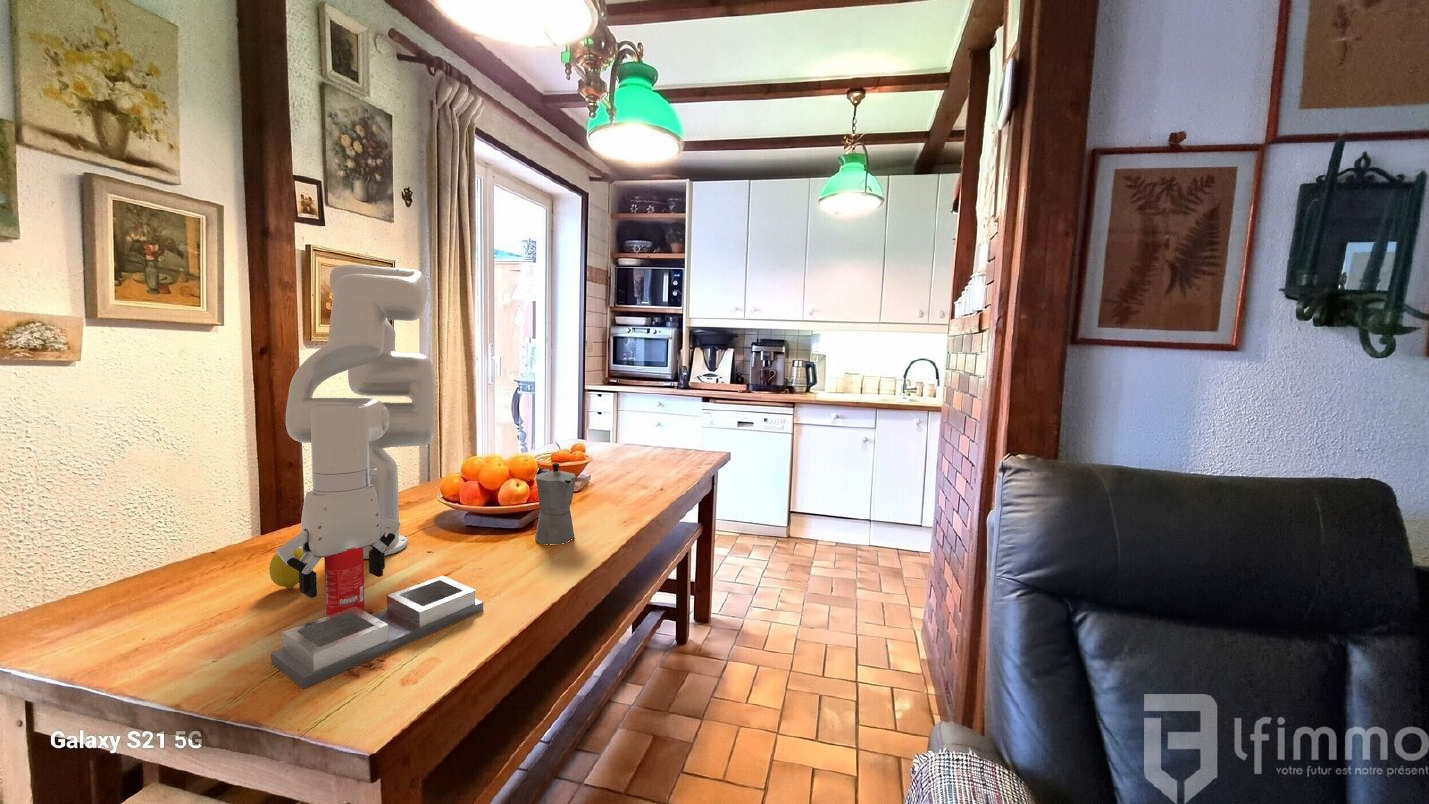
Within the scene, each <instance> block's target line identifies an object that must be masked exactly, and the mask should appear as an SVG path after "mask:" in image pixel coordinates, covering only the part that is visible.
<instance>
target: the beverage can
mask: <svg viewBox="0 0 1429 804" xmlns="http://www.w3.org/2000/svg"><path fill="white" fill-rule="evenodd" d="M346 550H347V551H344V552H342V553H339V554H336V555H332V556H328V557H324V558H323V560H324V561H323V562H324V588H325V589H324V590H325V591H324V592H325V594H324V595H325V614H326V617H327V616H329V615H332V614H335V613H338V612H341V611H344V610H346V609H349V608H352V607H355V606H356V607H358V608H360V609H362V610H363V611H364V608H365V607H366V606H365V572H364V571H365V570H364V569H365V568H364V565H365V564H364V559H363V548H356V549H355V547H352V548H348V549H346Z"/></svg>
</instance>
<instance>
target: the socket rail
mask: <svg viewBox="0 0 1429 804" xmlns="http://www.w3.org/2000/svg"><path fill="white" fill-rule="evenodd" d="M483 611H484V601H482V600H480V599H477V598H476V589H473V588H471V587H469V586H467V585H465V584H462V583H459V582H458V581H455V580H453V579H451V578H449V577H447V576H444V575H440V576H439V577H438V576H437V577H436V578H432V579H429V580H426V581H424V582H420V583H418V584H415V585H412V586H410V587H407V588H404V589H401V590H398V591H395V592H393V593H389V594H387V595H386V609H384V610H381V611H379V612H376V613H373V614H370V613H369V612H367V611H366V610H364V609H363V610H362V609H360V608H358V607H356V606H355V607H352V608H349V609H346V610H344V611H341V612H338V613H335V614H332V615H329V616H327V615H326V616H324V617H321V618H318V619H316V620H312V621H310V622H307V623H304V624H301V625H299V626H296V627H293V628H290V629H287V630H285V631H282V648H280V649H278V650H273V651H272V652H270V660H271V661H270V663H271V664H272V665H273V666H274V667H276V668H277V669H279V670H280V671H281V672H282V673H284V674H285V675H286V676H287V677H288V678H289V679H291V680H292V681H293V682H295V683H296V684H297V685H298V686H300V687H301V688H302V689H303V690H304V689H307V688H309V687H311V686H314V685H316V684H318V683H321V682H323V681H325V680H327V679H330V678H332V677H334V676H337V675H339V674H341V673H344V672H346V671H348V670H350V669H352V668H355V667H357V666H359V665H362V664H364V663H367V662H368V661H370V660H371V661H372V659H375V658H377V657H380V656H382V655H385V654H387V653H389V652H391V651H393V650H396V649H398V648H401V647H403V646H406V645H408V644H410V643H412V642H414V641H417V640H419V639H421V638H423V637H425V636H428V635H430V634H432V633H435V632H437V631H440V630H441V629H444V628H446V627H448V626H451V625H453V624H456V623H457V622H459V621H461V620H462V621H463V620H465V619H467V618H469V617H472V616H474V615H476V614H478V613H480V612H483Z"/></svg>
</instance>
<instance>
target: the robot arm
mask: <svg viewBox="0 0 1429 804" xmlns="http://www.w3.org/2000/svg"><path fill="white" fill-rule="evenodd" d="M329 285H330V290H331V293H332V301H331V308H330V309H331V310H330V320H329V328H328V339H327V343H326V344H325V345H323V346H322V347H321V348H319V349H317V350H316V351H315V352H314V353H312V354H311V355H310V356H309V357H307V358H306V359H305V360H304V362H303V363H302V364H301V365H300V366H299V367H297V370H296V371H295V372H294V375H293V377H292V379H291V381H290V384H289V389H288V394H287V395H288V396H287V401H286V402H287V403H286V409H285V428H286V432H287V434H288V436H289V437H290V438H292V440H294V441H296V442H298V443H303V444H311V445H310V446H311V471H312V473H311V475H312V483H311V484H312V490H311V491H310V490H309V491H307V492H306V493H305V497H304V501H303V506H302V512H301V521H300V533H298V534H297V535H296V536H294V537H292V538H291V539H289V540H288V541H286V542H285V543H284V544H282V545H281V546H279V547H277V548H276V549H275V550H276V553H277V554H278V555H279V556H280V557H281V559H282V560H283V561H284V563H285V564H287V565H289V566H291V567H292V568H294V569H296V570H298V571H299V583H298V585H299V592H300V593H301V594H303V595H305V596H306V597H308V598H309V599H314V598H316V597H317V596H318V587H317V586H318V583H317V582H318V581H317V580H318V578H317V572H316V571H314V569H315V567H316V566H317V565H318V563H319V562H320V561H321V559H322V558H323V559H324V557H328V556H332V555H336V554H339V553H342V552H344V551H347V550H346V549H348V548H352V547H355V549H356V548H363V560H368V572H369V574H370V575H373V576H375V577H377V578H380V577H383V576H384V569H385V565H386V564H385V562H386V559H385V556H390V555H393V554H396V553H398V552H400V551H402V550H404V549H405V548H406V547H407V546H408V538H407V537H406V536H404V535H401V534H400V526H401V522H400V516H399V515H400V510H399V509H400V505H399V503H400V501H399V499H400V498H399V468H398V465H397V462H396V461H395V459H394V458H393V457H392V456H391V455H390V454H389V453H388V452H387V451H386V450H385V448H388V449H389V448H401V447H402V448H403V447H422V446H425V445H428V444H430V443H431V442H432V440H433V439H434V437H435V428H436V427H435V425H436V424H435V423H436V421H435V420H436V416H435V415H436V414H435V411H436V410H435V405H436V404H435V400H436V399H435V373H434V366H433V363H432V361H431V359H430V358H429V357H428V356H426V355H424V354H421V353H415V352H397V351H396V331H395V328H394V327H393V325H392V324H391V322H390V321H406V322H407V321H409V322H413V321H417V320H419V319H420V317H421V316H422V314H423V312H424V308H425V305H426V302H427V299H428V284H427V280H426V277H425V276H424V274H423V273H422V272H421V271H419V270H417V269H416V270H415V269H410V268H400V267H399V268H398V267H391V266H390V267H387V266H378V265H369V264H367V265H366V264H342V265H338V266H335V267H334V268H332V270H331V271H330V273H329ZM346 371H347V379H348V381H347V382H348V386H349V389H350V391H351V392H352V393H354V394H356V395H358V396H365V397H350V398H349V397H348V398H347V397H313V396H314V392H315V391H316V389H317V388H318V387H319V386H320V385H321V384H322V383H323V382H324V381H326V380H328V379H330V378H331V377H333V376H336V375H338V374H340V373H343V372H346ZM371 397H387V398H388V397H398V398H399V397H405V398H409V399H410V400H411V402H391V401H390V402H387V401H386V402H383V401H380V400H379V399H375V398H371ZM297 548H300V549H301V550H302V551H303V552H305V553H304V555H303V556H302V557H301V558H300V560H298V559H296V558H295V556H294V555H293V551H294V550H295V549H297Z"/></svg>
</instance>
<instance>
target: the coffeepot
mask: <svg viewBox="0 0 1429 804" xmlns="http://www.w3.org/2000/svg"><path fill="white" fill-rule="evenodd" d="M551 466H552V470H550V469H548V468H547V469H546V468H543V467H539V469H538V470H537V472H536V474H535V482H536V483H535V484H536V489H537V496H538V504H539V507H540V511H539V514H538V519H537V525H536V530H535V536H534V537H535V538H534V539H535V542H536V543H537V544H539V543H540V544H539V545H542V544H548V545H547V546H551V545H550V544H561V545H563V544H562V543H565V544H567V543H566V542H568V541H569V540H571V539H573V538H574V539H575V532H574V525H573V519H572V513H571V505H572V503H573V497H574V490H575V485H576V479H577V476H576V474H575V473H573V472H569V471H568V472H567V471H563V470H559V468H560V464H559V463H558V462H554V463H551ZM574 539H573V540H574ZM568 543H569V542H568Z"/></svg>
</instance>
